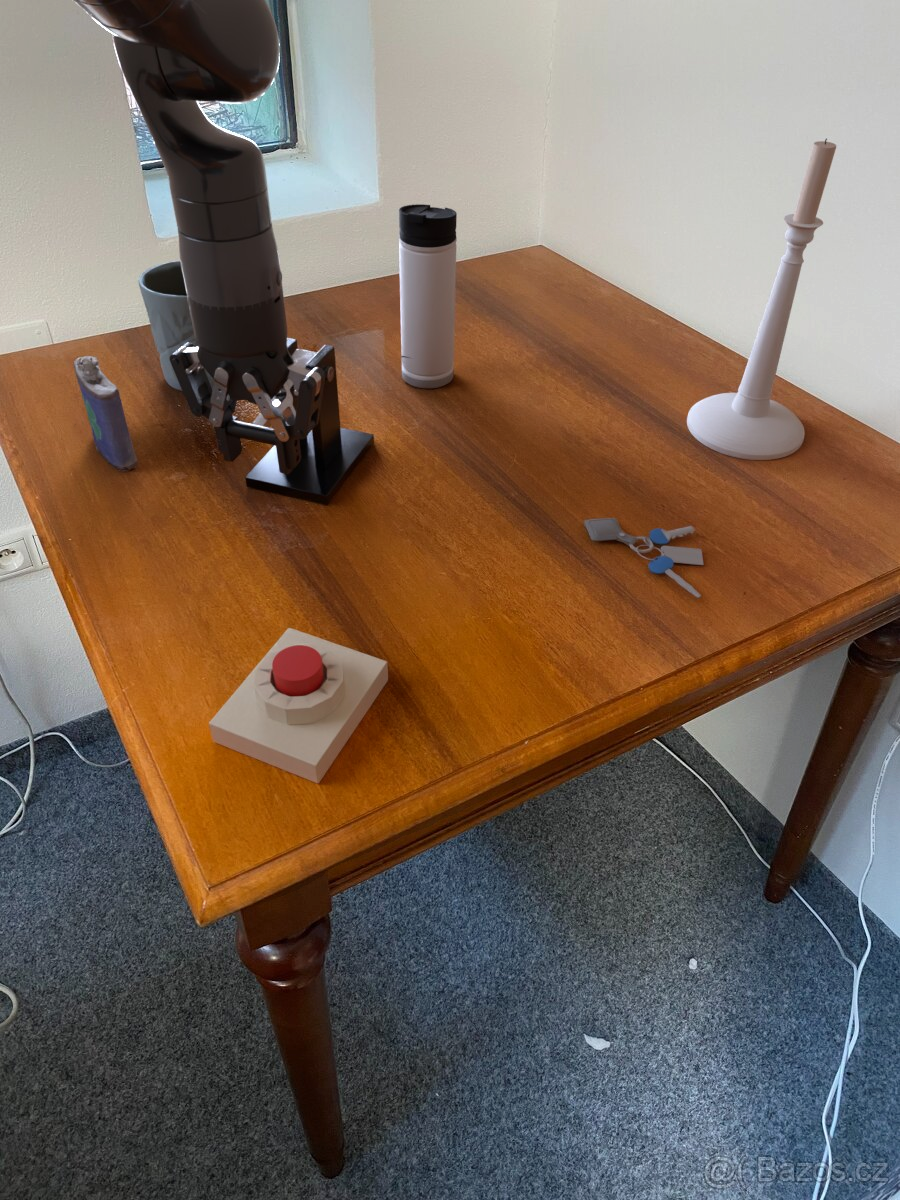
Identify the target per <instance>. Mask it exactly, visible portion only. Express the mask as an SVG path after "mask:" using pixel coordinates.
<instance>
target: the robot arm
mask: <svg viewBox="0 0 900 1200" xmlns="http://www.w3.org/2000/svg"><path fill="white" fill-rule="evenodd" d="M73 2H75V4H76V5H78V6H79V7H80V8H81V9H82V10H83V11H84V12H85V13H86V14H88V16H90V17H91V19H93V20H94V21H95V22H96V23H97V24H98V25H100V26H101V27H102V28H104V29H105V30H106V31H108V32H109V33H111V34H112V40H113V46H114V50H115V54H116V57H117V60H118V64H119V67H120V69H121V72H122V74H123V77H124V80H125V82H126V85H127V86H128V88H129V91H130V93H131V95H132V97H133V99H134V101H135V103H136V105H137V107H138V109H139V112H140V114H141V116H142V118H143V121H144V123H145V125H146V127H147V129H148V131H149V134H150V136H151V138H152V141H153V144H154V146H155V148H156V150H157V153H158V155H159V157H160V159H161V162H162V165H163V167H164V170H165V172H166V175H167V178H168V179H167V180H168V184H169V191H170V196H171V200H172V206H173V212H174V217H175V223H176V227H177V234H178V250H179V261H180V262H181V267H182V273H183V278H184V283H185V288H186V294H187V299H188V304H189V309H190V315H191V320H192V325H193V330H194V335H195V339H196V342H197V343H198V345H199V347H195V346H194V345H193V344H192V343H189V342H188V343H186V344H184V345H183V346H182V347H181V348H179V349H178V350H177V351H176V352H174V353H173V354H172V355H171V356H170V358H169V359H170V362H171V365H172V367H173V370H174V372H175V375H176V377H177V379H178V382H179V384H180V387H181V389H182V391H181V392H182V394H183V396H184V398H185V402H186V404H187V406H188V409H189V411H190V413H191V414H192V415H193V416H194V417H196V418H201V417H203V418H205V419H208V420H209V423H210V425H212V426H213V429H214V434H215V439H216V445H217V449H218V451H219V453H220V454H221V455H222V457H223V459H224V460H223V461H226V462H230V463H234V462H235V461H236V459H238V457H239V456H240V455H241V454H242V452H243V444H242V438H237V437H233V436H229V435H228V434H227V425H228V423H229V421H230V420H235V421H239V419H238V417H237V416H234V414H235V411H236V407H237V403H238V401H246V402H249V403H251V404H253V405H256V406H257V408H258V410H259V413H260V412H261V414H262V416H263V418H264V419H266V420H269V422H270V424H271V426H270V427H271V428H273V430H274V432H275V434H276V436H277V439H276V440H275V442H276V450H277V457H278V464H279V471H280V473H283V474H287V475H288V474H289V473H290V472H291V471H292V470H293V469H294V468H295V467H296V466H297V465H298V463H299V462H300V460H301V450H300V441H299V439H305V438H306V437H307V436H308V434H309V433H310V431H311V430H312V429H313V428H314V427H316V425H317V424H318V422H319V415H320V408H321V402H322V395H323V388H324V382H325V372H324V371H323V370H322V369H321V368H319V367H315V368H314V369H313V370H312V371H309V370H307V369H305V368H302V367H300V366H297V365H295V364H294V361H293V358H292V357H291V355H290V353H289V351H288V349H287V338H288V322H287V315H286V314H287V313H286V305H285V296H284V288H283V273H282V271H281V263H280V261H281V260H280V255H279V249H278V245H277V241H276V236H275V233H274V228H273V223H272V213H271V205H270V196H269V187H268V178H267V172H266V164H265V160H264V156H263V153H262V151H261V149H260V147H259V146H258V145H257V144H256V142H255V141H253V140H251V139H250V138H247V137H245V136H244V135H240V134H237V133H235V132H232V131H230V130H227V129H225V128H222V127H220V126H218V125H217V124H215V123H214V122H212V121H211V120H210V119H209V118H208V117H207V115H206V114H205V112H204V111H203V108H202V107H201V106H200V104H199V102H208V103H220V104H231V105H232V104H233V105H240V104H241V105H242V104H247V103H251V102H253V101H256V100H258V99H259V98H261V97H262V96H264V95H265V94H266V92H267V91H268V90H269V89H270V88H271V86H272V84H273V82H274V81H275V79H276V77H277V73H278V71H279V66H280V57H281V45H280V37H279V33H278V28H277V24H276V21H275V17H274V16H273V13H272V10H271V9H270V6H269V5H268V2H267V1H266V0H73ZM204 368H205V369H206V371H207V372H208V373H209V374H210V376H211V377H212V378H213V380H214V386H213V390H212V387H211V385H210V382H209V380H208V377H207V375H206V372H205V370H204ZM288 378H289V379H290V380H291V381H292V382H293V385H294V390H295V391H294V394H295V395H296V396H298V402H297V410H296V411H295V409H294V407H293V397H292V394H291V392H290V390H289V388H288V386H287V384H286V381H287V380H288ZM197 390H198V391H197ZM275 396H276V398H275V400H274V401H273V402H272V401H271V400H272V399H273V398H274V397H275Z"/></svg>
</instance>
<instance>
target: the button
mask: <svg viewBox="0 0 900 1200" xmlns="http://www.w3.org/2000/svg"><path fill="white" fill-rule="evenodd" d="M272 668H273V674H274V680H275V685H276V687H277V688H278V690H279V691H281V692H282V693H283V694H286V695H288V696H293V697H295V696H306V695H309V694H311V693H313V692H314V691H316V690H317V689H318V688H319V687H320V686H321V684H322V682H323V679H324V673H323V665H322V658H321V655H320V654H319V653H318V652H317V651H316V650H315V649H313V648H311V647H309V646H304V645H295V646H290V647H287V648H285V649H283V650H282V651H280V652H279V653H278V654H277V655H276V656H275V658H274V660H273V663H272Z"/></svg>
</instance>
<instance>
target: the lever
mask: <svg viewBox="0 0 900 1200" xmlns="http://www.w3.org/2000/svg"><path fill="white" fill-rule="evenodd" d="M317 353H318V351H317V352H316V351H311V350H306V349H301V348H298V349H296V350H295V352H294V353H293V354H292V356H291V357H292V358H293V361H294V364H295V365H297V366H300V367H302V368H305V369H306V366H305V365H306V364H307V363H308V362H309V361H310V360H311V359H312V358H313V357H314V356H315V355H316V354H317ZM286 384H287V386H288V388H289V390H290V392H291V394H292V396H293V395H294V391H295V390H294V385H293V382H292V381H291V380H290V379H289V378H288V380H287V381H286ZM275 398H276V396H275V397H274V398H273V399H272V400H271V401H272V402H273V401H274V400H275ZM227 434H228V435H229V436H233V437H237V438H241V440H248V441H251V442H257V443H262V444H265V445H271V446H276V442H275V440H276V439H277V436H276V434H275V432H274V430H273V428H272V426H271V424H270V422H269V420H266V419H264V418H263V416H262V414H261V412H260V411H259V413H258V415H257V416H256V417H255V419H254V420H253V422H252V423H250V422H249V423H248V422H245V421H239V420H238V421H235V420H230V421H229V423H228V425H227Z"/></svg>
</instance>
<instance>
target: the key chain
mask: <svg viewBox="0 0 900 1200" xmlns="http://www.w3.org/2000/svg"><path fill="white" fill-rule="evenodd" d="M583 524H584V526H585V528H586V531H587V533H588V535H589V538H590V540H591V541H592V542H602V541H603V542H605V541H617V542H621V543H623V544H625V545H627V546H628V547H630V550H632V551H633V552H636V553H637V555H638V556H640V557H641V558H643V559H645V560H648V561H650V562H649V563H648V570H649V571H650V573H652V574H656V575H662V574H666V575H667V576H668V577H669V578H671V579H673V580H674V581H675V582H676V583H677V584H678V585H679V586H680V587H682V588H683V589H685V590H686V591H687V592H688V593H690V594H692V596H693V597H695V598H697V599H699V598H701V597H702V595H701V594H700V593H699V592H698V591H697V590H696V589H695V588H694V587H693V585H692V584H690V583H688V582H687V581H685V580H684V579H683V578H682V577H681V576H680V575H679V574H677V573H675V572H674V571H673V570H672V569H673V567H674V566H675V565H674V563H675V564H683V565H684V564H685V565H696V566H705V565H704V558H703V551H702V548H694V547H682V546H672V545H667V544H669V543H670V542H671V541H670V540H675V539H676V538H677V537H678V538H684V536H687V535H688V534H690V535H693V534H694V533H695V527H694V526H692V525H689V526H685V527H680V528H676V529H671V530H666V529H663V528H661V527H655V528H654V529H652V530H650V532H649V533H648V536H634V535H631V534H628V533H626V532H625V531H623V530H622V528H621V526H620V523H619V521H618V519H617V518H616V517H604V518H590V519H584V521H583ZM638 541H643V542H644V544H640V545H638V546H636V547H635V546H634V545H635V544H636V543H637V542H638ZM654 544H656V545H659V546H661V547H660V548H658V547H656V546H654ZM640 547H648V548H646V549H640ZM653 549H656V550H657V551H659V552H660V556H656V557H654V558H649V557H647V556H644V555H642V554H648V553H650V552H651V551H652V550H653Z"/></svg>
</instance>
